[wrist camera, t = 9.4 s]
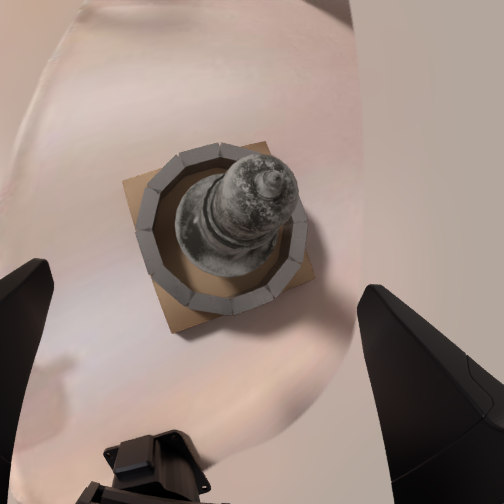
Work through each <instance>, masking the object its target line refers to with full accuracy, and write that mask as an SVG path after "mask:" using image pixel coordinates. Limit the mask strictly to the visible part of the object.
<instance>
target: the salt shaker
mask: <svg viewBox="0 0 504 504" xmlns="http://www.w3.org/2000/svg"><path fill="white" fill-rule="evenodd" d="M298 193H299V190H298V185H297V181H296V179H295V176H294V174H293V172H292V171H291V170H290V168H289V167H288V166H287V165H286V164H285V163H283V162H282V161H281V160H280V159H277V158H275V157H273V156H271V155H266V154H252V155H249V156H246V157H243V158H242V159H240V160H238V161H237V162H236V163H234V164H233V165H232V166H231V167H230V168H229V170H228V171H227V172H226V173H225V174H215V175H212V176H209V177H206V178H204V179H201V180H200V181H198V182H197V183H196V184H194V185H193V186H191V187H190V189H189V190H188V191H187V192H186V194H185V195H184V196H183V197H182V199H181V202H180V204H179V206H178V208H177V212H176V219H175V229H176V237H177V240H178V243H179V245H180V247H181V250H182V252H183V253H184V254H185V255H186V257H187V258H188V259H189V261H190V262H191V263H192V264H194V265H195V266H196V267H198V268H199V269H200V270H202V271H204V272H206V273H209V274H211V275H214V276H219V277H229V278H230V277H236V276H243V275H245V274H247V273H250V272H252V271H254V270H256V269H257V268H258V267H260V266H261V265H262V264H263V263H264V262H266V260H267V259H268V257H269V256H270V255H271V253H272V252H273V250H274V248H275V245H276V242H277V239H278V232H279V227H280V226H281V225H283V224H284V223H285V222H286V221H287V220H288V219H289V218H290V216H291V215H292V213H293V212H294V210H295V208H296V205H297V202H298Z"/></svg>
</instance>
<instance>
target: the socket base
mask: <svg viewBox="0 0 504 504" xmlns="http://www.w3.org/2000/svg"><path fill="white" fill-rule="evenodd" d="M252 154H266V155H271V154H270V151H269V149H268V146H267V144H266V141H264V142H259V143H255V144H250V145H246V146H242V147H238V146H234V145H230V144H225V143H221V145H220V146H219V144H218V143H214V144H210V145H207V146H203V147H199V148H195V149H191V150H188V151H184V152H181V153H179V157H178V156H177V155H175V156H174V157H173V158H172V159H171V160H170V161H169V162H168V163H167V164H166V165H165V166H164V167H163V168H161V169H158V170H155V171H151V172H148V173H145V174H142V175H139V176H136V177H133V178H130V179H127V180H124V181H122V183H123V187H124V191H125V194H126V198H127V202H128V205H129V209H130V212H131V216H132V219H133V223H134V226H135V230H136V232H135V234H136V237H137V240H138V243H139V247H140V250H141V253H142V256H143V259H144V262H145V265H146V268H147V271H148V274H149V275H150V276H151V279H152V282H153V285H154V287H155V290H156V293H157V296H158V299H159V301H160V304H161V307H162V310H163V312H164V315H165V318H166V320H167V323H168V325H169V328H170V331H171V333H172V334H173V333H176V332H179V331H182V330H184V329H187V328H190V327H193V326H195V325H198V324H201V323H204V322H206V321H209V320H212V319H214V318H217V317H220V316H222V315H229V316H231V314H233V315H234V316H235V315H237V314H240V313H242V312H245V311H248V310H250V309H253V308H255V307H258V306H260V305H263V304H265V303H268V302H270V301H273V300H274V299H273V298H277V297H278V295H279V294H280V293H281V292H284V291H286V290H289V289H291V288H294V287H296V286H299V285H301V284H303V283H306V282H308V281H311V280H313V279H315V276H314V273H313V270H312V267H311V264H310V261H309V258H308V255H307V252H306V249H305V243H306V236H307V229H308V223H305V221H307V220H308V219H307V216H306V213H305V211H304V208H303V205H302V203H301V200H300V197H299V194H298V202H297V205H296V208H295V210H294V212H293V213H292V215H291V216H290V218H289V219H288V220H287V221H286V222H285V223H284V224H283V225H281V226H280V227H279V232H278V239H277V242H276V245H275V248H274V250H273V252H272V253H271V255H270V256H269V257H268V259H267V260H266V262H264V263H263V264H262V265H261V266H260V267H258V268H257V269H256V270H254V271H252V272H250V273H247V274H245V275H243V276H236V277H230V278H229V277H219V276H214V275H211V274H209V273H206V272H204V271H202V270H200V269H199V268H198V267H196V266H195V265H194V264H192V263H191V262H190V261H189V259H188V258H187V257H186V255H185V254H184V253H183V252H182V250H181V247H180V245H179V243H178V240H177V237H176V229H175V219H176V212H177V208H178V206H179V204H180V202H181V199H182V197H183V196H184V195H185V194H186V192H187V191H188V190H189V189H190V187H191V186H193V185H194V184H196V183H197V182H198V181H200V180H201V179H204V178H206V177H209V176H212V175H215V174H225V173H226V172H227V171H228V170H229V168H230V167H231V166H232V165H233V164H234V163H236V162H237V161H238V160H240V159H242V158H243V157H246V156H249V155H252Z"/></svg>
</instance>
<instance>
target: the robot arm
mask: <svg viewBox="0 0 504 504" xmlns="http://www.w3.org/2000/svg"><path fill="white" fill-rule="evenodd" d="M53 291H54V281H53V277H52V274H51V270H50V267H49V263H48V261H47V260H45V259H40V258H34V259H32V260H30V261H29V262H27V263H25V264H24V265H22V266H21V267H19V268H17V269H16V270H14V271H13V272H11V273H10V274H8V275H7V276H5V277H4V278H2V279H0V504H7V499H8V488H9V478H10V470H11V461H12V454H13V448H14V442H15V437H16V431H17V426H18V421H19V417H20V412H21V408H22V403H23V399H24V395H25V391H26V387H27V384H28V380H29V376H30V373H31V369H32V366H33V363H34V359H35V356H36V353H37V350H38V347H39V343H40V340H41V337H42V334H43V330H44V326H45V322H46V317H47V313H48V310H49V306H50V302H51V298H52V295H53ZM357 316H358V322H359V327H360V333H361V340H362V346H363V353H364V358H365V362H366V366H367V370H368V374H369V378H370V382H371V386H372V391H373V395H374V399H375V403H376V408H377V412H378V417H379V421H380V426H381V431H382V435H383V440H384V445H385V450H386V456H387V461H388V466H389V472H390V477H391V482H392V483H391V484H392V491H393V497H394V504H504V385H503V384H502V383H501V382H500V381H498V380H497V379H495V378H494V377H493V376H492V375H491V374H489V373H488V372H487V371H486V370H484V369H483V368H482V367H481V366H480V365H478V364H477V363H476V362H475V361H474V360H473V359H472V358H470V357H469V356H468V355H466V354H465V352H463V351H462V350H461V349H460V348H459V347H457V346H456V345H455V344H454V343H453V342H451V341H450V340H449V339H448V338H447V337H446V336H444V335H443V334H442V333H441V332H440V331H438V330H437V329H436V328H435V327H433V326H432V325H431V324H430V323H429V322H427V321H426V320H425V319H424V318H423V317H421V316H420V315H419V314H418V313H416V312H415V311H414V310H413V309H411V308H410V307H409V306H407V305H406V304H405V303H404V302H402V301H401V300H400V299H399V298H398V297H396V296H395V295H394V294H392V293H391V292H390V291H389V290H387V289H386V288H385V287H383V286H382V285H378V284H370V285H368V286H367V287H366V288H365V291H364V293H363V295H362V297H361V299H360V301H359V303H358V306H357ZM173 435H177V436H178V437H177V438H173V437H172V436H173ZM107 453H111V454H112V455H113V456H110V455H108V454H107ZM103 455H104V457H105V459H106V461H107V462H108V464H109V465H110V467H111V468H112V470H113V473H114V474H115V475H114V479H113V484H112V488H111V487H108V486H102V485H100V483H96V482H93V481H91V483H90V484H89V486H88V488H87V487H86V488H85V490H84V491H83V493H82V494H81V496H80V497H79V499H78V500H77V502H76V503H75V504H213V503H200V499H199V495H200V494H203V493H207V492H209V491H210V490H211V486H210V483H209V482H208V480H207V478H206V477H205V475H204V473H203V472H202V470H201V468H200V467H199V465H198V463H197V461H196V460H195V458H194V456H193V454H192V453H191V451H190V449H189V447H188V445H187V444H186V442H185V440H184V438H183V436H182V434H181V433H180V432H179V431H178V430H171V431H167V432H164V433H161V434H158V435H154V436H152V435H146V436H143V437H139V438H136V439H132V440H128V441H124V442H121V443H120V445H118V446H114V447H110V448H106V449H105V450H104V453H103ZM203 486H207V487H206V488H202V487H203ZM222 504H229V503H222Z"/></svg>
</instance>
